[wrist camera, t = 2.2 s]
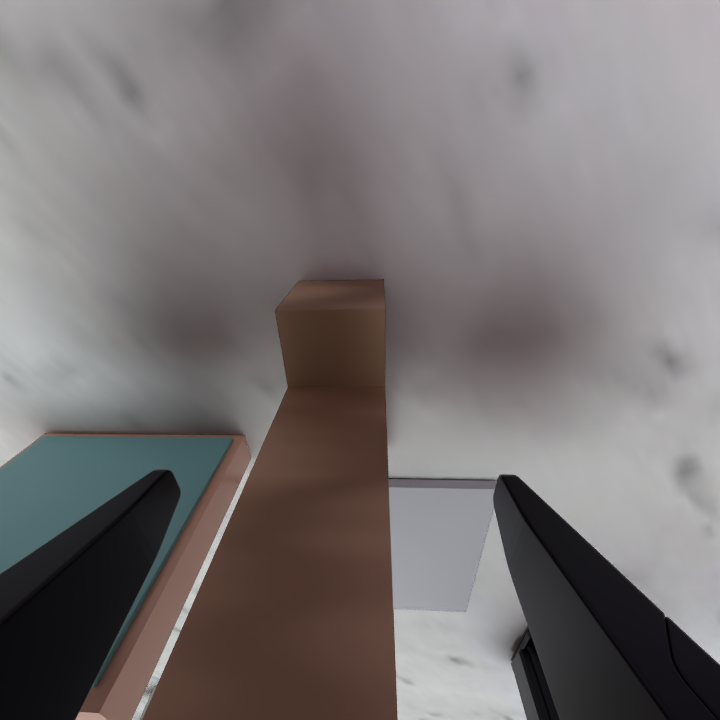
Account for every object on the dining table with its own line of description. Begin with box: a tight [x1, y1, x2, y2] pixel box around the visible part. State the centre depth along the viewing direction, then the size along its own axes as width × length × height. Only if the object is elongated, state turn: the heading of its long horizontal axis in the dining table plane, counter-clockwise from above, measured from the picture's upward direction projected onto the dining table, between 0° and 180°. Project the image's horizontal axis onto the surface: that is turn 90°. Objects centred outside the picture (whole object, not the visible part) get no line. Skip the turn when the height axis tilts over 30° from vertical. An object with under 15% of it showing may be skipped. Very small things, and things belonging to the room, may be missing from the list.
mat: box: [388, 479, 496, 612], centre depth 19 cm, size 12×12×1 cm
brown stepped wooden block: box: [142, 279, 397, 720], centre depth 9 cm, size 3×8×10 cm, turn 2°
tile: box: [0, 434, 251, 720], centre depth 12 cm, size 10×2×9 cm, turn 92°
